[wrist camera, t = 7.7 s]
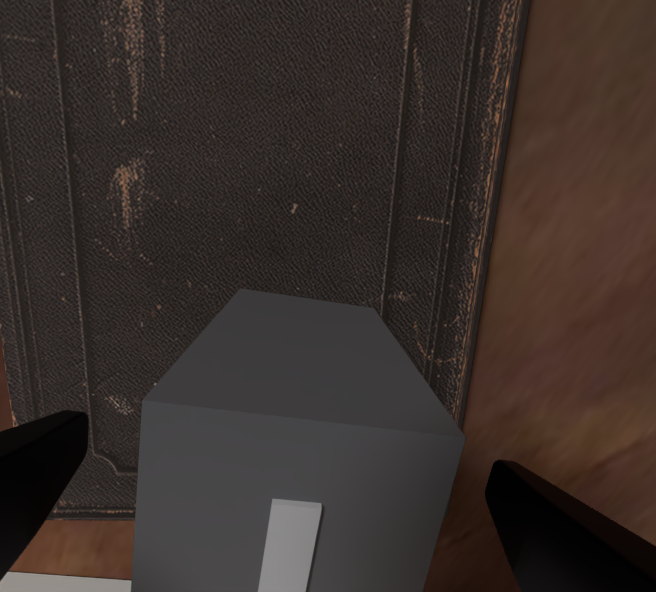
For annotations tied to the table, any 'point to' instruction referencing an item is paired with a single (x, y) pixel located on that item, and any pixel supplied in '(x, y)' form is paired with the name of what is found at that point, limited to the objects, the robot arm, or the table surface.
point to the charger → (291, 456)
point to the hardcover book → (238, 189)
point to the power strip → (60, 583)
